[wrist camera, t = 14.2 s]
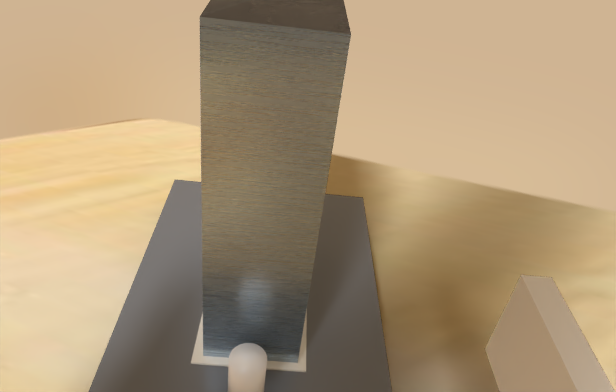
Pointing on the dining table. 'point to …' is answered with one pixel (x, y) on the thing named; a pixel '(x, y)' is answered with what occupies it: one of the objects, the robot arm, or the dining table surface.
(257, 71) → the block
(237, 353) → the slotted base plate
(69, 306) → the dining table surface
